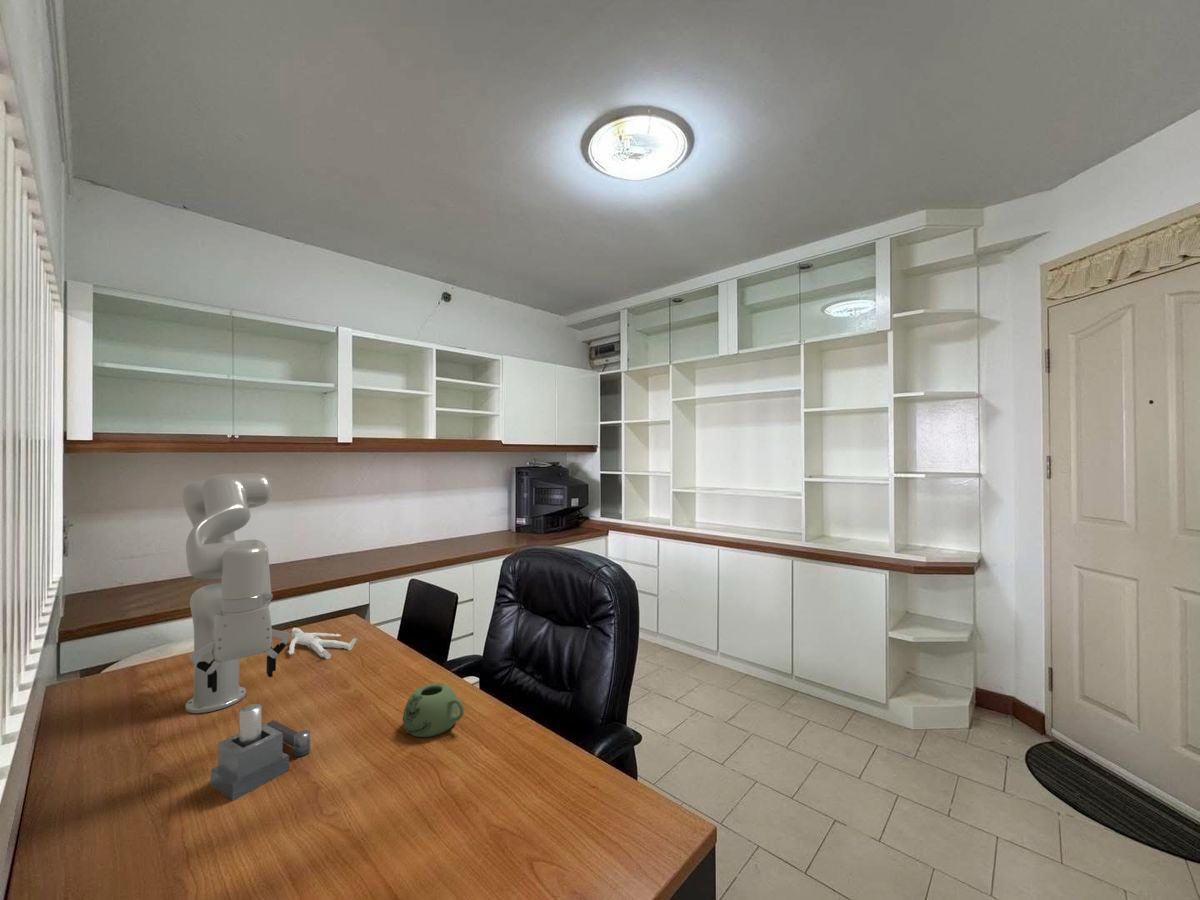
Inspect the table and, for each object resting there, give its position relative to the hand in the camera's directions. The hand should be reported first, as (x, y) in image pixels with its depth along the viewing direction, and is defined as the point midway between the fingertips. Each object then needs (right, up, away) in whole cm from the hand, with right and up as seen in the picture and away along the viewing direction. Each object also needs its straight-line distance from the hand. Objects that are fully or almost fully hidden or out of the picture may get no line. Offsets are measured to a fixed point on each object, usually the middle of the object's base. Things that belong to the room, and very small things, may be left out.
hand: (242, 682), depth 101 cm
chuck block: (+6, -16, -6) cm, 19 cm away
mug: (+38, -17, +12) cm, 43 cm away
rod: (+6, -13, -6) cm, 16 cm away
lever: (+6, -16, +5) cm, 18 cm away
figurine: (-21, -19, +60) cm, 66 cm away
